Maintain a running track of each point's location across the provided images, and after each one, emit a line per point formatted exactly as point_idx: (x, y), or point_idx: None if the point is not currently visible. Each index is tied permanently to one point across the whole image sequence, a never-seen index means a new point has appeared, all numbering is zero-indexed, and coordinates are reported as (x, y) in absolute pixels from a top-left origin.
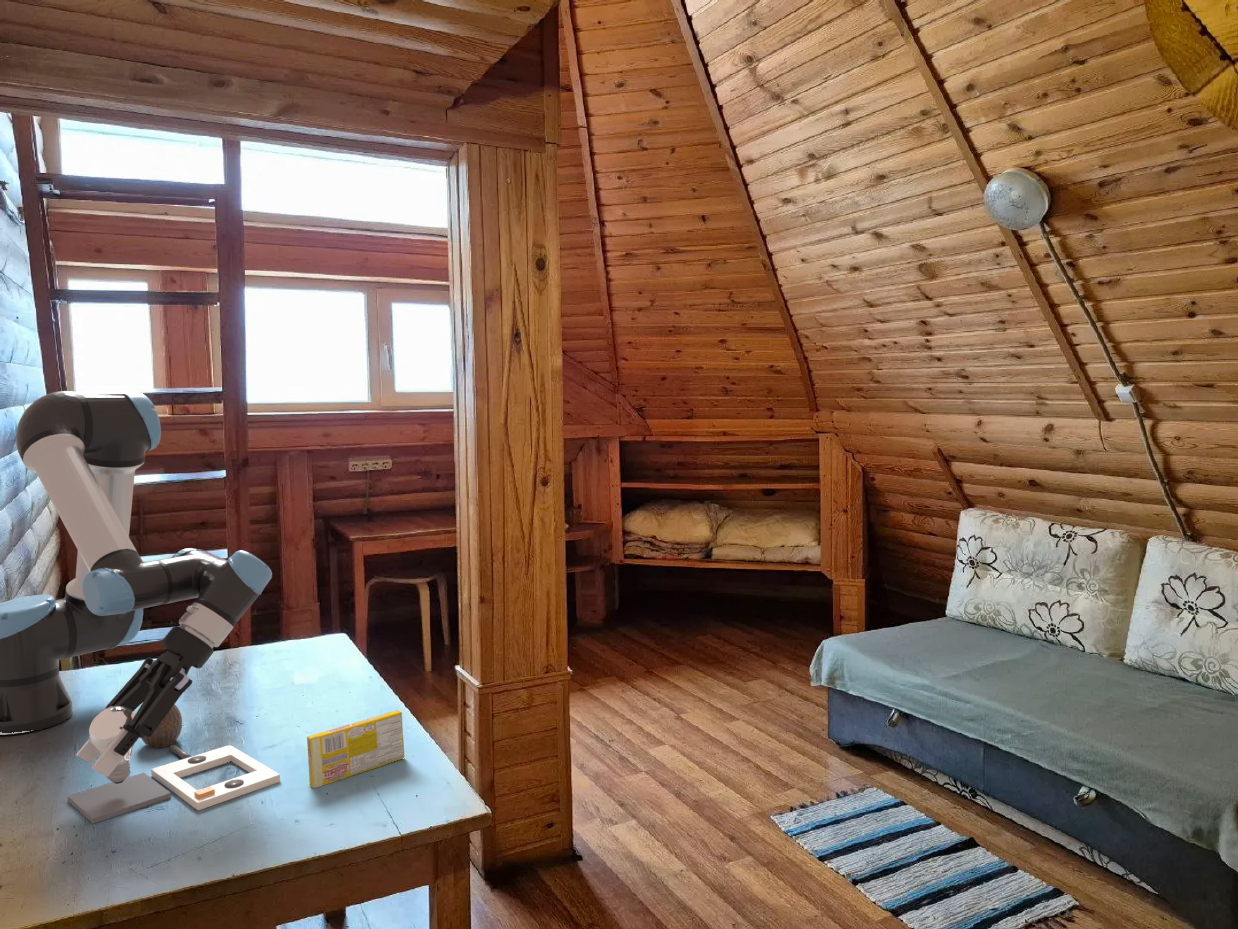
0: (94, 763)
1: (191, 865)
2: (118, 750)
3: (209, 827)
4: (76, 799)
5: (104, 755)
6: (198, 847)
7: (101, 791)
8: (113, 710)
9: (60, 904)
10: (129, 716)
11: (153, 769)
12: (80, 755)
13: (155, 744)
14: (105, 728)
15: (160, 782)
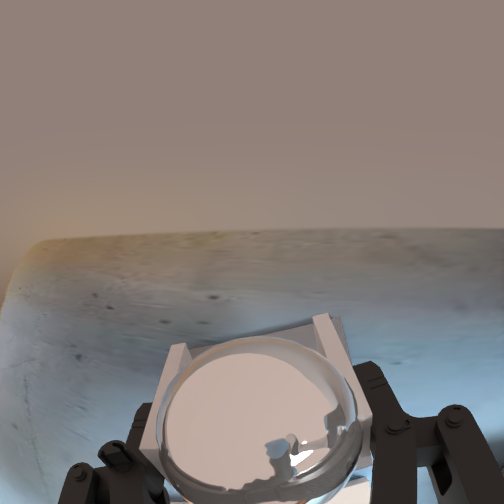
0: (183, 350)
1: (8, 411)
2: (138, 410)
3: None
4: (307, 331)
5: (163, 375)
6: (32, 439)
7: None
8: (197, 445)
9: (24, 281)
10: (182, 494)
11: (363, 485)
12: (314, 325)
13: (501, 470)
14: (167, 388)
15: None
